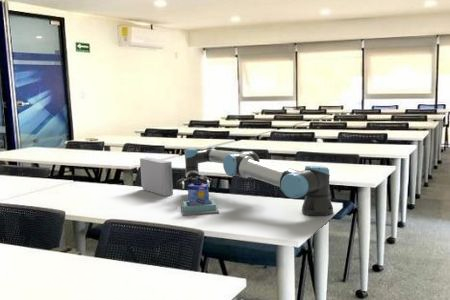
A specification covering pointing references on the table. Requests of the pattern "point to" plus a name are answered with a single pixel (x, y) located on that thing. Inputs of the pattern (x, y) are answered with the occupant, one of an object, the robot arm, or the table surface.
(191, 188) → the ink cartridge box
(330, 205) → the robot arm
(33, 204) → the table surface
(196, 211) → the cradle
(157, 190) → the game console
